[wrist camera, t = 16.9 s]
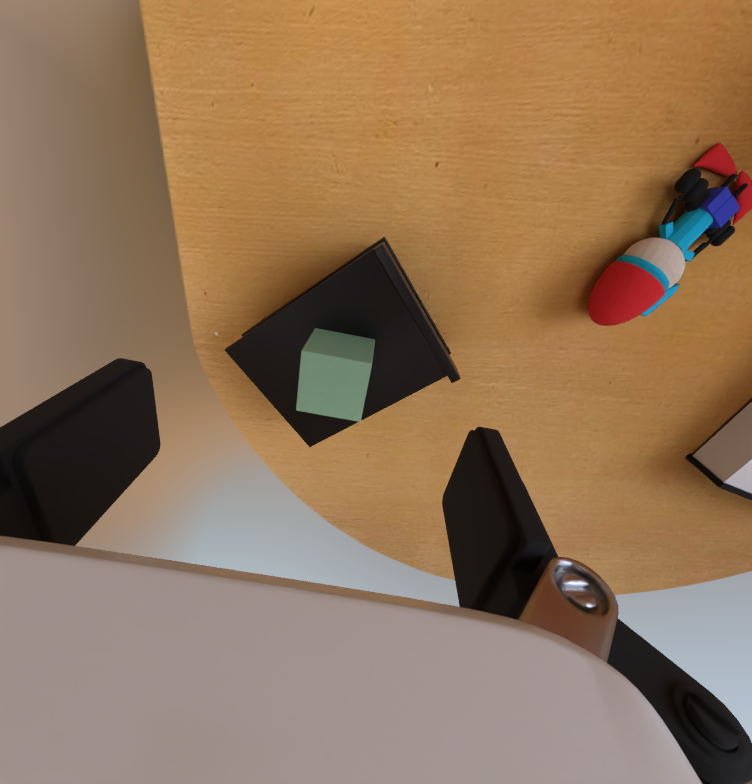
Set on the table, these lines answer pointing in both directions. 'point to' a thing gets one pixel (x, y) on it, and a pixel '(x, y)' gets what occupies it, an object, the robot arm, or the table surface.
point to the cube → (334, 374)
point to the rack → (354, 317)
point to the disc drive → (729, 455)
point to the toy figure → (672, 243)
